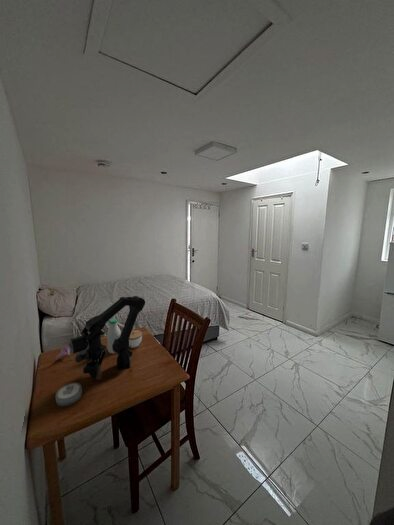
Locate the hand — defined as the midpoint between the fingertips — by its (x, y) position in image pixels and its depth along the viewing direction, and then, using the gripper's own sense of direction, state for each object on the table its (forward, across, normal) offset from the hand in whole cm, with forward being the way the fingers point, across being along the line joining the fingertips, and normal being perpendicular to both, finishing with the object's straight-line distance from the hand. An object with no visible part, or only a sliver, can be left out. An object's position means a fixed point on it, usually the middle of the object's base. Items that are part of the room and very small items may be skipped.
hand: (96, 373), depth 105 cm
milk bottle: (+3, -25, +4) cm, 25 cm away
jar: (+3, +10, -9) cm, 14 cm away
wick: (+3, 0, 0) cm, 3 cm away
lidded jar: (+3, -29, +15) cm, 33 cm away
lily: (+3, -21, -22) cm, 30 cm away
